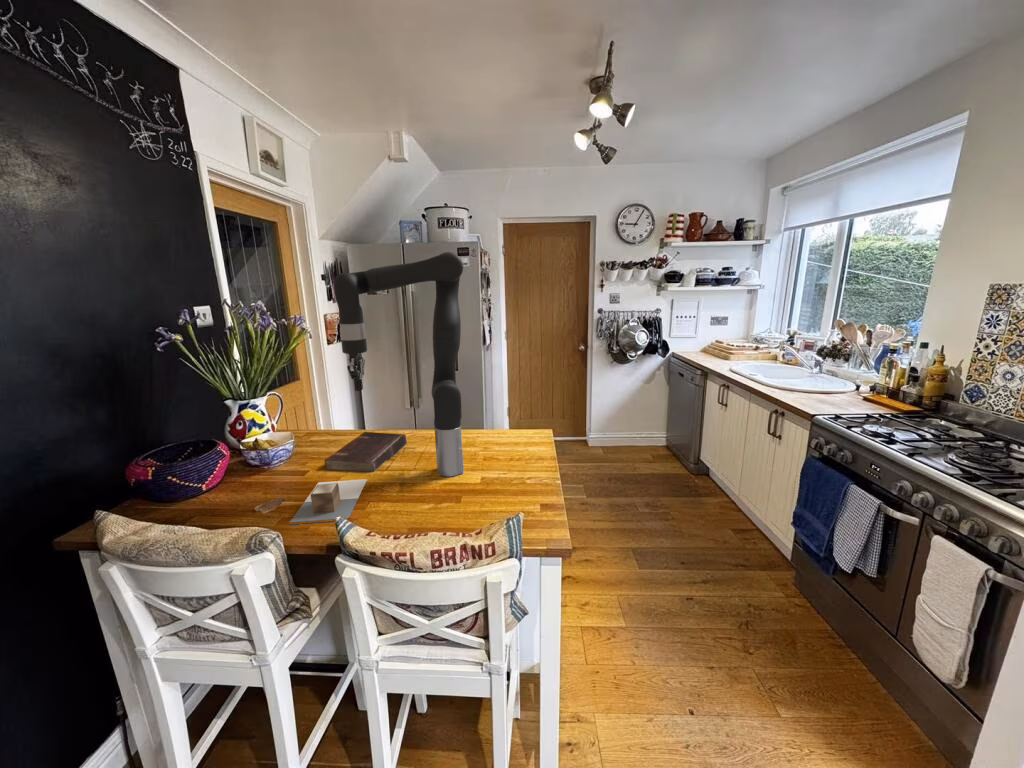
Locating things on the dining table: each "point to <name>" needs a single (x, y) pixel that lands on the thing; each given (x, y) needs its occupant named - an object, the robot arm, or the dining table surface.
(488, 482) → the dining table surface
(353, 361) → the robot arm
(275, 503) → the shard
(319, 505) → the walnut cube
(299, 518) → the board
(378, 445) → the hardback book
